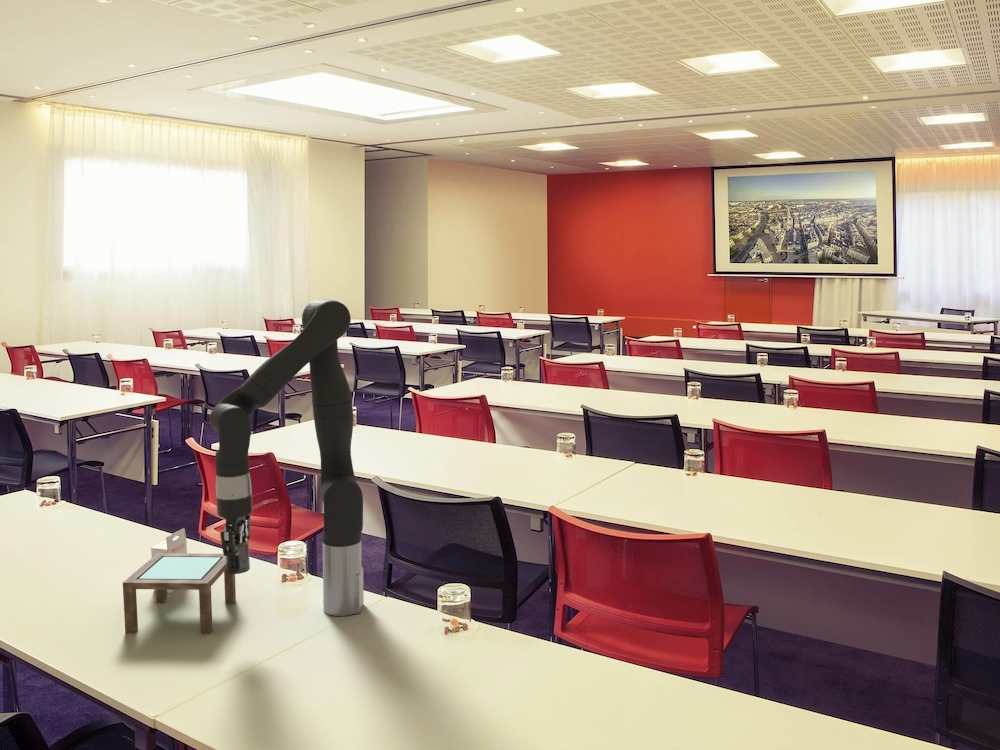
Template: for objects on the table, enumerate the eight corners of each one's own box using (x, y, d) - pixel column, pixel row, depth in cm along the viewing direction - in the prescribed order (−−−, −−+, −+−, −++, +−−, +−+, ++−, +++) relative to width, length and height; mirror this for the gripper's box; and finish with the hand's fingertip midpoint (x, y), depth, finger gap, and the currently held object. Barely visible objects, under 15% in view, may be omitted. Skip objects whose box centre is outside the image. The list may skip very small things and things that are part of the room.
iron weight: (252, 565, 186) (251, 540, 185) (246, 573, 181) (244, 547, 180) (230, 565, 186) (229, 540, 185) (223, 574, 181) (221, 548, 180)
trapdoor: (221, 561, 200) (220, 557, 200) (200, 583, 186) (200, 579, 186) (163, 560, 200) (163, 556, 200) (138, 582, 186) (138, 578, 186)
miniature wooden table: (235, 600, 204) (234, 553, 202) (209, 634, 185) (207, 583, 183) (159, 599, 204) (157, 553, 202) (125, 633, 185) (122, 582, 183)
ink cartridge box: (171, 579, 217) (169, 525, 215) (188, 581, 216) (186, 527, 214) (152, 591, 208) (149, 536, 207) (169, 593, 208) (167, 537, 206)
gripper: (241, 502, 174) (245, 578, 176) (260, 484, 188) (263, 555, 191) (205, 503, 174) (210, 579, 176) (227, 484, 188) (231, 555, 191)
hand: (238, 566), depth 183 cm, fingers closed on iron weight, 5 cm apart
